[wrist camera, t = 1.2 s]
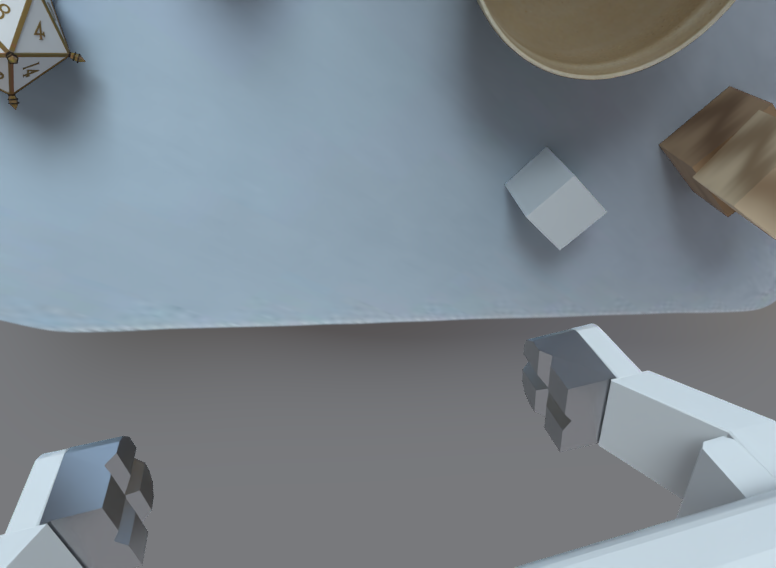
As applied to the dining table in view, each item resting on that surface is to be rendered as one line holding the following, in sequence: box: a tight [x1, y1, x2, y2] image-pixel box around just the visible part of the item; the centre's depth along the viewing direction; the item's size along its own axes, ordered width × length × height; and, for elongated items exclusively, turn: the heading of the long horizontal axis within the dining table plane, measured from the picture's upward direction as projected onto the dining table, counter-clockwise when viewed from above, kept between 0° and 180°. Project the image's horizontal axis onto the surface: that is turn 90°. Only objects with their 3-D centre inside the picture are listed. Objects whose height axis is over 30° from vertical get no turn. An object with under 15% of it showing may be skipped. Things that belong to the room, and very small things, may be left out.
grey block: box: [504, 147, 607, 250], centre depth 42 cm, size 4×4×6 cm
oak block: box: [692, 110, 776, 240], centre depth 38 cm, size 6×6×5 cm
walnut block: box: [659, 86, 776, 217], centre depth 42 cm, size 6×6×5 cm
